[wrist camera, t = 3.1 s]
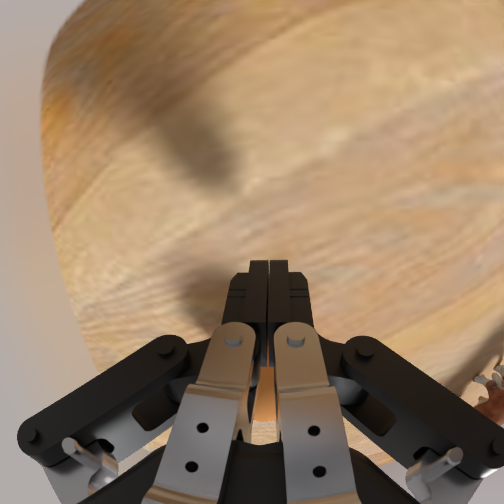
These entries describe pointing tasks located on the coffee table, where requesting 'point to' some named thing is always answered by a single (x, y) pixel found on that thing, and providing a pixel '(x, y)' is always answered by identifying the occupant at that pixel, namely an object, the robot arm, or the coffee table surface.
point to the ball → (265, 395)
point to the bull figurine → (492, 396)
